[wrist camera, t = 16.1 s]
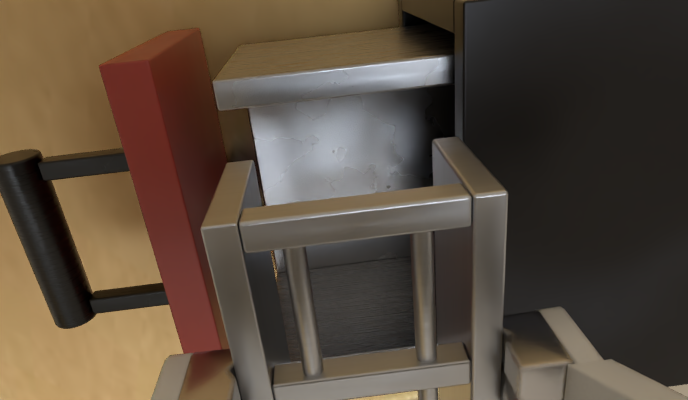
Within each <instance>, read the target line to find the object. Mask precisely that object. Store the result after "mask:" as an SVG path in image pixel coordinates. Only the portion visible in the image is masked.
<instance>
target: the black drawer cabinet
mask: <svg viewBox="0 0 688 400" xmlns="http://www.w3.org/2000/svg"><path fill="white" fill-rule="evenodd" d="M398 7H399V27H406V26H415V25H424V24H434V25H436V26H439V27H441V28H443V29H445V30H447V31H450V32H452V33H454V34H455V137H459V138H460V139H461V140H462V141H463V142H464V143H465V145H466V146H467V147H468V148H469V149H470V150H471V151H472V152H473V153H474V154H475V156H476V157H477V158H478V159H479V160H480V161H481V162H482V163H483V164H484V166H485V167H486V168H487V169H488V170H489V171H490V172H491V173H492V174H493V175H494V177H495V178H496V179H497V180H498V181H499V182H500V183H501V184H502V185H503V186H504V188H505V189H506V190H507V191H508V212H507V236H506V261H505V285H504V310H503V315H506V314H514V313H521V312H529V311H535V310H539V309H546V308H552V307H559V306H560V307H562V308H564V309H565V310H566V312H567V313H568V314H569V316H570V317H571V318H572V319H573V321H574V322H575V323H576V325H577V326H578V327H579V329H580V330H581V331H582V332H583V334H584V335H585V336H586V338H587V339H588V340H589V341H590V343H591V344H592V345H593V347H594V348H595V349H596V350H597V352H598V353H599V354H600V356H601V357H602V358H603V359H604V360H609V359H612V360H614V361H616V362H618V363H620V364H622V365H624V366H626V367H628V368H630V369H632V370H634V371H636V372H638V373H640V374H642V375H644V376H646V377H648V378H650V379H652V380H654V381H656V382H658V383H660V384H662V385H664V386H666V387H669V386H677V385H683V384H688V0H398Z"/></svg>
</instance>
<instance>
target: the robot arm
mask: <svg viewBox="0 0 688 400" xmlns="http://www.w3.org/2000/svg"><path fill="white" fill-rule="evenodd" d="M151 400H242V397H241V393H240V389H239V385H238V381H237V377H236V372H235V368H234V364H233V360H232V356H231V352H230V349H222V350H212V351H202V352H194V353H186V354H177V355H169V356H168V357H167V358H166V360H165V361H164V364H163V367H162V369H161V372H160V375H159V378H158V381H157V383H156V386H155V389H154V392H153V395H152V397H151ZM500 400H688V397H686V396H684V395H682V394H680V393H678V392H676V391H674V390H672V389H670V388H668V387H666V386H664V385H662V384H660V383H658V382H656V381H654V380H652V379H650V378H648V377H646V376H644V375H642V374H640V373H638V372H636V371H634V370H632V369H630V368H628V367H626V366H624V365H622V364H620V363H618V362H616V361H614V360H612V359H609V360H604V359H603V358H602V357H601V356H600V354H599V353H598V352H597V350H596V349H595V348H594V347H593V345H592V344H591V343H590V341H589V340H588V339H587V338H586V336H585V335H584V334H583V332H582V331H581V330H580V329H579V327H578V326H577V325H576V323H575V322H574V321H573V319H572V318H571V317H570V316H569V314H568V313H567V312H566V310H565V309H564V308H562V307H560V306H559V307H552V308H546V309H539V310H535V311H529V312H521V313H514V314H506V315H503V334H502V359H501V383H500Z"/></svg>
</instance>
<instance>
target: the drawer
mask: <svg viewBox="0 0 688 400" xmlns="http://www.w3.org/2000/svg"><path fill="white" fill-rule="evenodd" d="M99 69H100V72H101V75H102V79H103V82H104V86H105V89H106V92H107V96H108V99H109V102H110V106H111V109H112V113H113V116H114V119H115V123H116V126H117V129H118V133H119V136H120V140H121V143H122V146H123V148H119V149H111V150H102V151H94V152H85V153H76V154H68V155H59V156H51V157H45V158H44V159H43V156H42V154H41V152H40V151H39V150H33V149H29V150H20V151H15V152H11V153H7V154H4V155H1V156H0V193H1V195H2V198H3V200H4V203H5V205H6V207H7V210H8V212H9V215H10V217H11V219H12V222H13V224H14V226H15V229H16V231H17V234H18V236H19V238H20V241H21V243H22V246H23V248H24V250H25V253H26V255H27V257H28V260H29V262H30V265H31V267H32V269H33V272H34V274H35V277H36V279H37V281H38V284H39V286H40V288H41V291H42V293H43V296H44V298H45V300H46V303H47V305H48V307H49V310H50V312H51V315H52V317H53V319H54V322H55V324H56V325H57V326H58V327H59V328H63V329H69V328H74V327H78V326H81V325H83V324H85V323H87V322H88V321H90V320H91V319H93V318H94V317H95V315H96V314H97V313H104V312H112V311H120V310H128V309H136V308H144V307H152V306H160V305H168V304H169V305H170V309H171V312H172V315H173V319H174V322H175V326H176V329H177V332H178V336H179V339H180V342H181V346H182V349H183V353H184V354H186V353H194V352H202V351H212V350H222V349H230V348H229V344H228V340H227V336H226V332H225V327H224V323H223V319H222V315H221V311H220V307H219V303H218V299H217V295H216V291H215V287H214V283H213V278H212V274H211V270H210V266H209V262H208V258H207V254H206V250H205V246H204V242H203V238H202V233H201V226H202V223H203V221H204V218H205V216H206V213H207V211H208V208H209V206H210V203H211V200H212V198H213V195H214V193H215V190H216V188H217V185H218V183H219V180H220V178H221V175H222V173H223V170H224V168H225V165H226V163H227V158H226V154H225V149H224V144H223V139H222V134H221V129H220V125H219V120H218V115H217V110H216V106H217V109H218V111H227V110H236V109H245V108H247V110H248V115H249V121H250V126H251V132H252V137H253V143H254V148H255V154H256V159H257V165H258V170H259V176H260V182H261V187H262V193H263V198H264V204H265V206H271V205H279V204H287V203H296V202H304V201H313V200H321V199H330V198H338V197H346V196H355V195H363V194H372V193H380V192H389V191H397V190H405V189H414V188H422V187H431V186H433V158H432V142H433V140H434V139H440V138H448V137H455V34H454V33H452V32H450V31H447V30H445V29H443V28H441V27H439V26H436V25H434V24H424V25H415V26H406V27H397V28H388V29H379V30H370V31H361V32H352V33H343V34H334V35H325V36H317V37H308V38H299V39H290V40H281V41H272V42H263V43H254V44H245V45H239V46H238V48H237V50H236V51H235V52H234V53H233V55H232V56H231V57H230V59H229V60H228V61H227V63H226V64H225V65H224V67H223V68H222V69H221V71H220V72H219V73H218V74H217V76H216V77H215V78H214V80H213V81H212V86H211V81H210V76H209V71H208V67H207V62H206V57H205V52H204V47H203V42H202V38H201V33H200V29H199V28H193V29H184V30H175V31H167V32H165V33H163V34H161V35H159V36H157V37H155V38H153V39H151V40H149V41H147V42H145V43H143V44H141V45H139V46H137V47H135V48H133V49H131V50H129V51H127V52H125V53H123V54H121V55H119V56H117V57H115V58H113V59H111V60H109V61H107V62H105V63H103V64H101V65H99ZM212 87H213V91H212ZM213 92H214V96H213ZM214 97H215V100H214ZM215 101H216V105H215ZM125 171H130V173H131V177H132V180H133V184H134V187H135V190H136V194H137V197H138V200H139V204H140V207H141V211H142V214H143V217H144V221H145V224H146V228H147V231H148V234H149V238H150V241H151V244H152V248H153V251H154V255H155V258H156V261H157V265H158V268H159V271H160V275H161V278H162V282H163V283H156V284H148V285H140V286H132V287H124V288H116V289H108V290H100V291H95V292H94V293H93V292H92V289H91V286H90V284H89V281H88V278H87V276H86V273H85V270H84V267H83V265H82V262H81V259H80V257H79V254H78V251H77V249H76V246H75V243H74V240H73V238H72V235H71V232H70V230H69V227H68V224H67V221H66V219H65V216H64V213H63V211H62V208H61V205H60V202H59V200H58V197H57V194H56V192H55V189H54V186H53V183H52V181H51V180H57V179H66V178H74V177H83V176H91V175H100V174H108V173H117V172H125ZM433 235H434V271H435V233H434V231H433ZM273 253H274V259H275V265H276V270H277V280H276V284H277V290H278V295H279V301H280V306H281V311H282V317H283V322H284V328H285V333H286V339H287V344H288V350H289V355H290V361H291V363H294V362H301V356H300V351H299V345H298V339H297V333H296V327H295V321H294V316H293V310H292V304H291V298H290V292H289V286H288V281H287V275H286V269H285V263H284V257H283V252H282V249H280V250H273ZM306 253H307V259H308V266H309V273H310V280H311V286H312V293H313V300H314V306H315V313H316V320H317V327H318V333H319V340H320V347H321V353H322V359H326V358H334V357H342V356H349V355H357V354H365V353H373V352H381V351H389V350H397V349H405V348H413V347H415V326H414V306H413V286H412V266H411V246H410V234H405V235H397V236H388V237H380V238H372V239H363V240H355V241H347V242H339V243H330V244H322V245H314V246H306ZM435 307H436V271H435ZM436 343H437V308H436Z"/></svg>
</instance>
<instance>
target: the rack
mask: <svg viewBox="0 0 688 400" xmlns="http://www.w3.org/2000/svg"><path fill="white" fill-rule="evenodd" d="M432 158H433V186H431V187H422V188H414V189H405V190H397V191H389V192H380V193H372V194H363V195H355V196H346V197H338V198H330V199H321V200H313V201H304V202H296V203H287V204H279V205H271V206H262V202H261V197H260V191H259V186H258V180H257V175H256V170H255V164H254V161H253V160H247V161H239V162H230V163H226V165H225V168H224V170H223V173H222V175H221V178H220V180H219V183H218V185H217V188H216V190H215V193H214V195H213V198H212V200H211V203H210V206H209V208H208V211H207V213H206V216H205V218H204V221H203V223H202V226H201V233H202V238H203V242H204V246H205V250H206V254H207V258H208V262H209V266H210V270H211V274H212V278H213V283H214V287H215V291H216V295H217V299H218V303H219V307H220V311H221V315H222V319H223V323H224V327H225V332H226V336H227V340H228V344H229V348H230V352H231V356H232V360H233V364H234V368H235V372H236V377H237V381H238V385H239V389H240V393H241V397H242V400H347V399H354V398H362V397H370V396H378V395H386V394H394V393H401V392H409V391H417V390H418V400H438V388H439V400H500V383H501V359H502V334H503V310H504V285H505V261H506V236H507V212H508V191H507V190H506V189H505V188H504V186H503V185H502V184H501V183H500V182H499V181H498V180H497V179H496V178H495V177H494V175H493V174H492V173H491V172H490V171H489V170H488V169H487V168H486V167H485V166H484V164H483V163H482V162H481V161H480V160H479V159H478V158H477V157H476V156H475V154H474V153H473V152H472V151H471V150H470V149H469V148H468V147H467V146H466V145H465V143H464V142H463V141H462V140H461V139H460V138H459V137H448V138H440V139H434V140H433V142H432ZM433 231H434V233H435V271H436V307H435V271H434V235H433ZM405 234H410V246H411V266H412V286H413V306H414V326H415V347H413V348H405V349H397V350H389V351H381V352H373V353H365V354H357V355H349V356H342V357H334V358H326V359H322V353H321V347H320V340H319V333H318V327H317V320H316V313H315V306H314V300H313V293H312V286H311V280H310V273H309V266H308V259H307V253H306V246H314V245H322V244H330V243H339V242H347V241H355V240H363V239H372V238H380V237H388V236H397V235H405ZM280 249H282V252H283V257H284V263H285V269H286V275H287V281H288V286H289V292H290V298H291V304H292V310H293V316H294V321H295V327H296V333H297V339H298V345H299V351H300V356H301V362H294V363H291V361H290V355H289V350H288V344H287V339H286V333H285V328H284V322H283V317H282V311H281V306H280V301H279V295H278V290H277V284H276V279H275V273H274V268H273V262H272V257H271V251H272V250H280ZM436 308H437V343H436Z"/></svg>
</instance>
